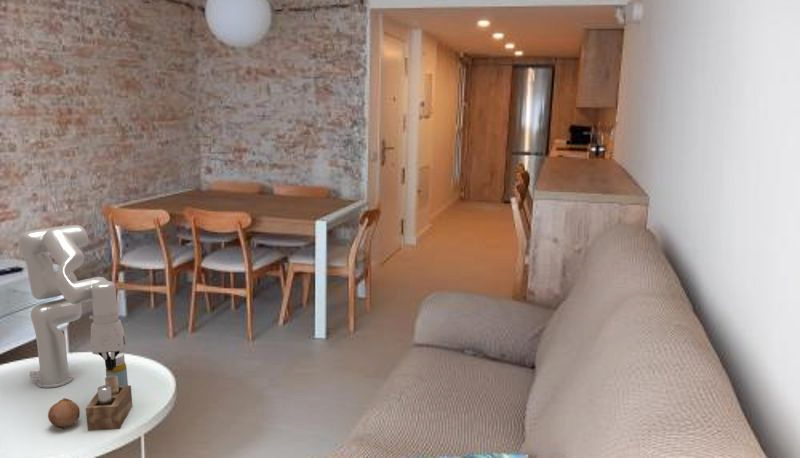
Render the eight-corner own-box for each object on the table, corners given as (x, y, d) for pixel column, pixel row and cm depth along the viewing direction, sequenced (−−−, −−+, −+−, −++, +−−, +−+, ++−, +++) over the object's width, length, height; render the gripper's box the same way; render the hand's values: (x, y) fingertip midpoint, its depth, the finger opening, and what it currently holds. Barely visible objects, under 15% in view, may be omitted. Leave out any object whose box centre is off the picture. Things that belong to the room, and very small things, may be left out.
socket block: (87, 430, 212) (85, 408, 211) (103, 408, 228) (100, 386, 226) (119, 428, 214) (117, 406, 212) (132, 406, 229) (130, 385, 228)
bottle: (121, 398, 235) (117, 359, 232) (103, 396, 237) (100, 358, 234) (132, 390, 242) (129, 352, 239) (115, 388, 243) (112, 350, 240)
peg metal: (97, 411, 214) (95, 390, 212) (101, 406, 217) (99, 385, 216) (110, 411, 214) (108, 390, 213) (114, 405, 218) (112, 384, 216)
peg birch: (105, 400, 221) (103, 380, 220) (108, 395, 225) (107, 375, 224) (117, 400, 222) (115, 379, 220) (120, 394, 226) (119, 374, 224)
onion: (65, 429, 219) (66, 399, 222) (86, 426, 216) (86, 395, 218) (41, 431, 211) (41, 400, 213) (62, 429, 207) (62, 397, 210)
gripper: (78, 322, 213) (84, 375, 217) (126, 320, 215) (131, 372, 218) (86, 315, 220) (91, 366, 224) (132, 313, 222) (136, 363, 226)
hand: (111, 369), depth 221 cm, fingers closed
